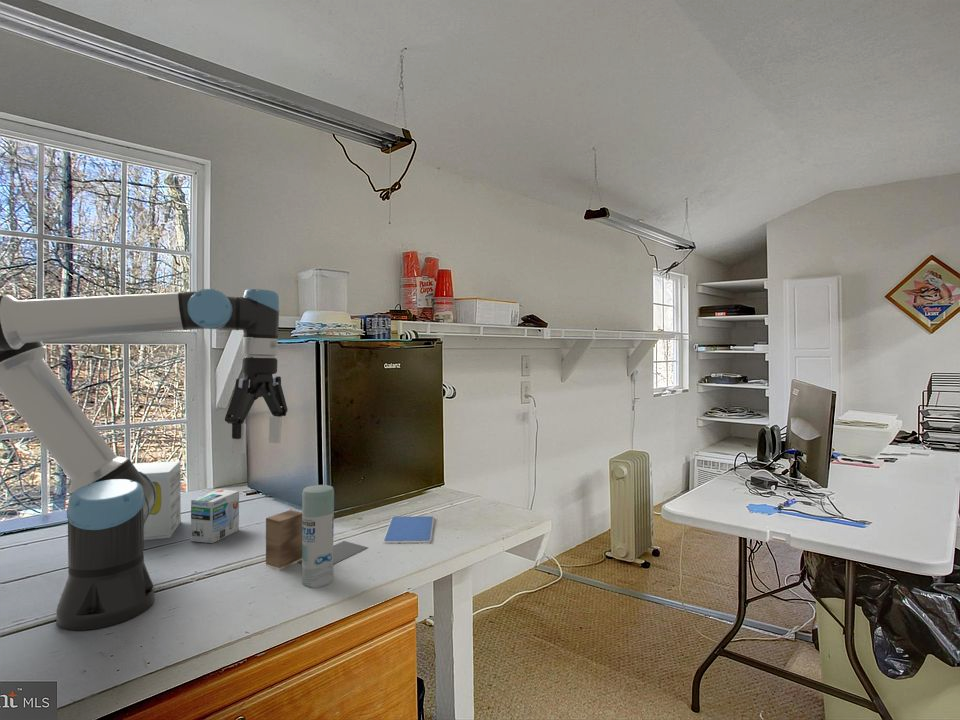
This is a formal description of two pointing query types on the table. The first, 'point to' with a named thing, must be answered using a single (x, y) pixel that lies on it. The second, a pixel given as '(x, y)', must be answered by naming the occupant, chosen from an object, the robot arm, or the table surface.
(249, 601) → the table surface
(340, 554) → the mat
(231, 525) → the light bulb box
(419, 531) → the tablet computer
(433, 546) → the table surface
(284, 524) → the walnut block
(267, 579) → the table surface
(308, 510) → the spray paint can
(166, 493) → the supplement box
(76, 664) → the table surface
